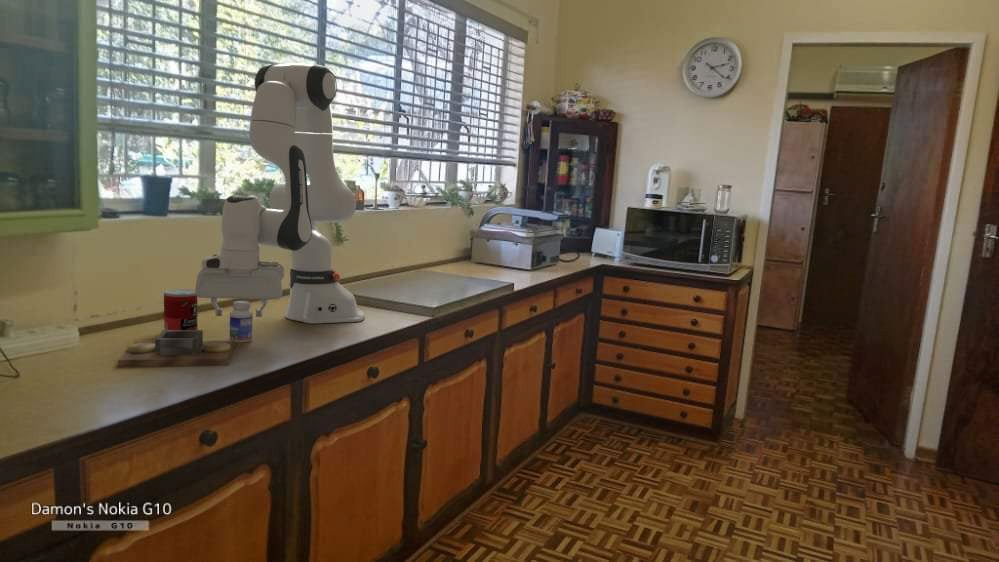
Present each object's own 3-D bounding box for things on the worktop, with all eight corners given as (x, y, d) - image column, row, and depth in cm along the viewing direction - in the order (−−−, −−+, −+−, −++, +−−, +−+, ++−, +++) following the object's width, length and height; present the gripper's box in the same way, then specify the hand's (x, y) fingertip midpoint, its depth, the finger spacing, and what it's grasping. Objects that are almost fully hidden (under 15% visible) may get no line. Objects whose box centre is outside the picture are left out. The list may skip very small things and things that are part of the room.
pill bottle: (225, 339, 180) (225, 301, 179) (245, 336, 184) (245, 299, 183) (236, 344, 177) (236, 305, 175) (256, 341, 181) (256, 303, 179)
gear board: (234, 346, 174) (234, 326, 174) (227, 365, 159) (227, 343, 158) (135, 347, 169) (134, 326, 168) (118, 366, 153) (117, 344, 153)
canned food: (185, 338, 179) (185, 295, 177) (157, 335, 180) (156, 292, 178) (204, 332, 186) (203, 290, 184) (176, 328, 188) (176, 287, 186)
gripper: (284, 260, 183) (283, 314, 184) (198, 257, 177) (197, 312, 179) (284, 264, 177) (282, 319, 178) (194, 260, 171) (193, 317, 173)
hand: (239, 316), depth 179 cm, fingers open, 8 cm apart
